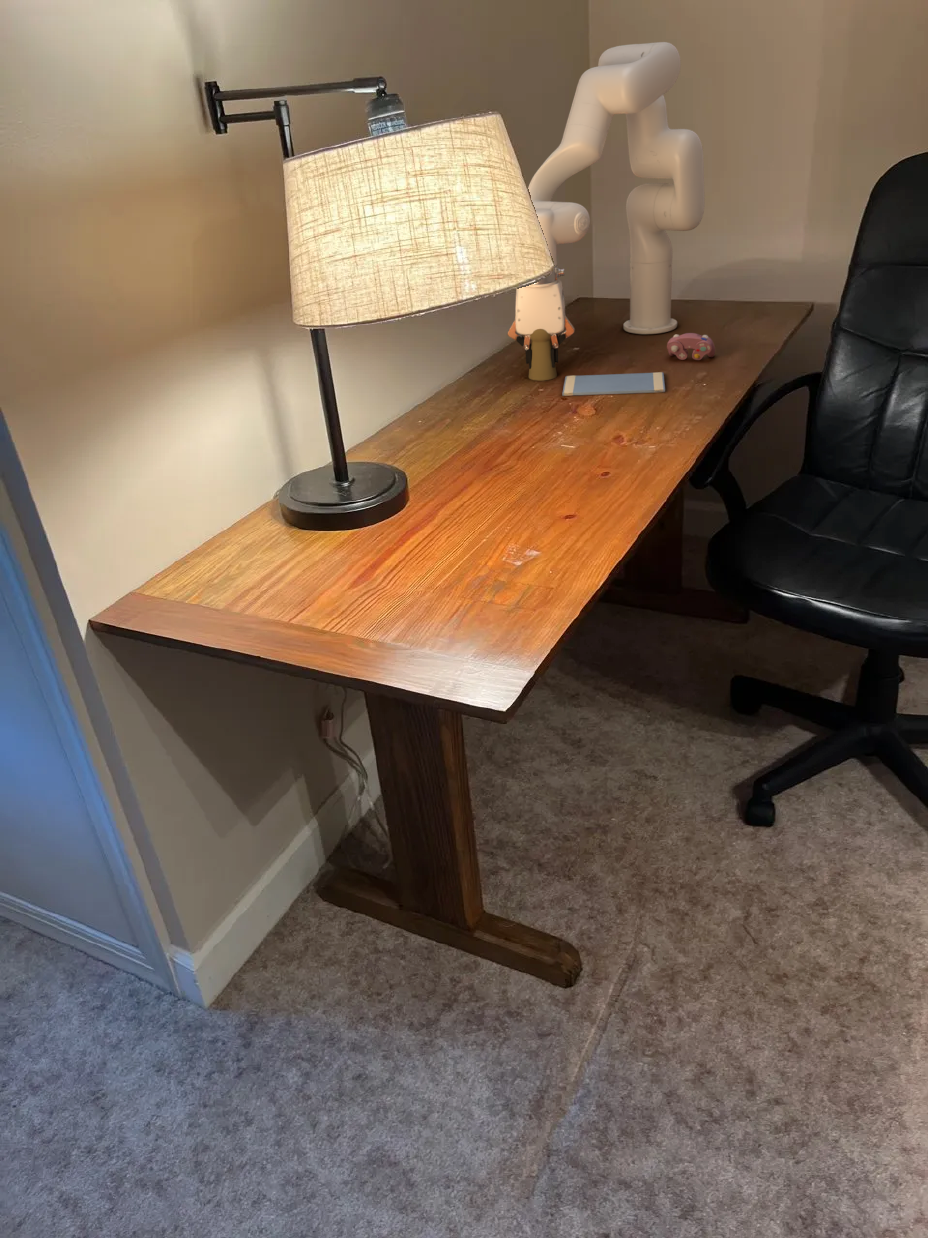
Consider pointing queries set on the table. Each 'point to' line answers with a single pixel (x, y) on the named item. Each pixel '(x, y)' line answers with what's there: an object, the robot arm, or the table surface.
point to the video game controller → (690, 346)
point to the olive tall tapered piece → (541, 356)
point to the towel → (614, 384)
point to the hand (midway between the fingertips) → (542, 365)
